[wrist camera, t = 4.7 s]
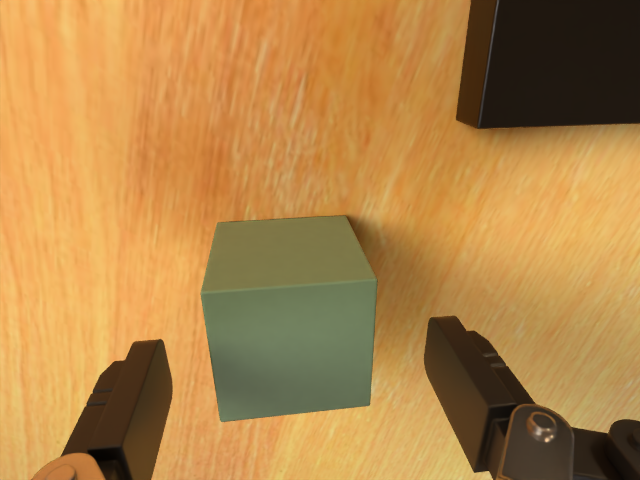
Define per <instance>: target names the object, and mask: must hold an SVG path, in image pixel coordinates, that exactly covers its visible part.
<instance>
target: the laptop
mask: <svg viewBox="0 0 640 480" xmlns="http://www.w3.org/2000/svg"><path fill="white" fill-rule="evenodd" d="M456 120H458V121H460V122H463V123H465V124H468V125H470V126H473V127H475V128H478V129H493V128H522V127H552V126H581V125H611V124H640V0H471V6H470V14H469V22H468V30H467V37H466V45H465V53H464V61H463V68H462V76H461V84H460V91H459V99H458V107H457V115H456Z"/></svg>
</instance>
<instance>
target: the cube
mask: <svg viewBox="0 0 640 480" xmlns="http://www.w3.org/2000/svg"><path fill="white" fill-rule="evenodd" d="M377 282H378V280H377V278H376V276H375V274H374V272H373V270H372V268H371V266H370V264H369V262H368V260H367V258H366V255H365V253H364V251H363V249H362V247H361V245H360V243H359V241H358V239H357V237H356V235H355V233H354V231H353V229H352V227H351V225H350V223H349V221H348V219H347V217H346V216H345V215H342V216H324V217H306V218H289V219H271V220H253V221H236V222H218V223H217V225H216V230H215V234H214V238H213V243H212V247H211V251H210V255H209V260H208V264H207V268H206V272H205V277H204V281H203V285H202V290H201V299H202V306H203V312H204V319H205V325H206V332H207V338H208V345H209V351H210V358H211V364H212V371H213V377H214V384H215V390H216V397H217V403H218V410H219V416H220V421H221V422H226V421H235V420H244V419H253V418H263V417H272V416H281V415H290V414H299V413H308V412H317V411H326V410H335V409H344V408H353V407H363V406H369V405H370V398H371V381H372V365H373V348H374V331H375V315H376V298H377Z"/></svg>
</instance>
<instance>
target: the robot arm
mask: <svg viewBox="0 0 640 480" xmlns="http://www.w3.org/2000/svg"><path fill="white" fill-rule="evenodd" d="M424 364H425V370H426V374H427V376H428V379H429V381H430V383H431V385H432V387H433V389H434V391H435V393H436V395H437V397H438V399H439V401H440V403H441V405H442V407H443V409H444V412H445V414H446V416H447V418H448V420H449V422H450V424H451V426H452V428H453V430H454V432H455V434H456V436H457V438H458V440H459V442H460V444H461V447H462V449H463V451H464V453H465V455H466V457H467V459H468V461H469V463H470V465H471V467H472V469H473V471H474V473H476V472H484V471H489V472H490V474H491V476H492V478H493V480H640V421H636V420H630V419H623V420H618V421H616V422H614V423H613V424H612V425H611V427H610V430H609V432H608V433H602V432H596V431H590V430H584V429H578V428H574V427H571V426H570V425H569V424H568V422H567V421H566V420H565V419H564V418H563V417H561V416H560V415H559V414H557V413H556V412H554V411H552V410H550V409H548V408H546V407H543V406H540V405H536V404H535V402H534V401H533V400H532V398H531V397H530V396H529V394H528V393H527V392H526V390H525V389H524V388H523V386H522V385H521V384H520V382H519V381H518V379H517V378H516V377H515V375H514V374H513V373H512V371H511V370H510V369H509V367H508V366H506V363H505V362H504V361H503V359H502V358H501V357H500V356H498V353H497V351H496V350H495V349H494V347H493V346H492V345H491V343H490V342H489V341H488V340H487V339H485V338H484V337H483V336H481V335H480V334H478V333H477V332H475V331H466V329H465V328H464V326H463V325H462V323H461V322H460V321H459V319H458V318H457V317H456V316H443V317H431V318H430V319H429V322H428V329H427V337H426V345H425V353H424ZM171 400H172V377H171V373H170V368H169V364H168V359H167V355H166V350H165V345H164V342H163V340H161V339H159V340H147V341H135V342H134V343H133V344H132V346H131V348H130V351H129V353H128V355H127V357H126V360H124V361H114V362H113V363H112V364H111V365H110V366H109V367H108V368H107V369H106V370H105V371H104V372H103V373H102V374H101V375H100V377H99V379H98V381H97V383H96V385H95V387H94V389H93V394H91V395H90V397H89V399H88V401H87V406H86V407H85V408H84V410H83V412H82V414H81V416H80V418H79V420H78V422H77V424H76V426H75V428H74V430H73V432H72V434H71V436H70V438H69V440H68V442H67V444H66V447H65V449H64V451H63V453H62V455H61V456H60V457H59V458H57V459H55V460H53V461H51V462H50V463H48V464H47V465H45V466H44V467H43V468H42V469H40V470H39V471H38V472H37V473H36V474H35V475H34V477H33V478H32V479H31V480H151V478H152V474H153V471H154V467H155V463H156V459H157V455H158V451H159V447H160V443H161V439H162V436H163V432H164V428H165V424H166V420H167V416H168V412H169V408H170V404H171Z"/></svg>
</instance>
